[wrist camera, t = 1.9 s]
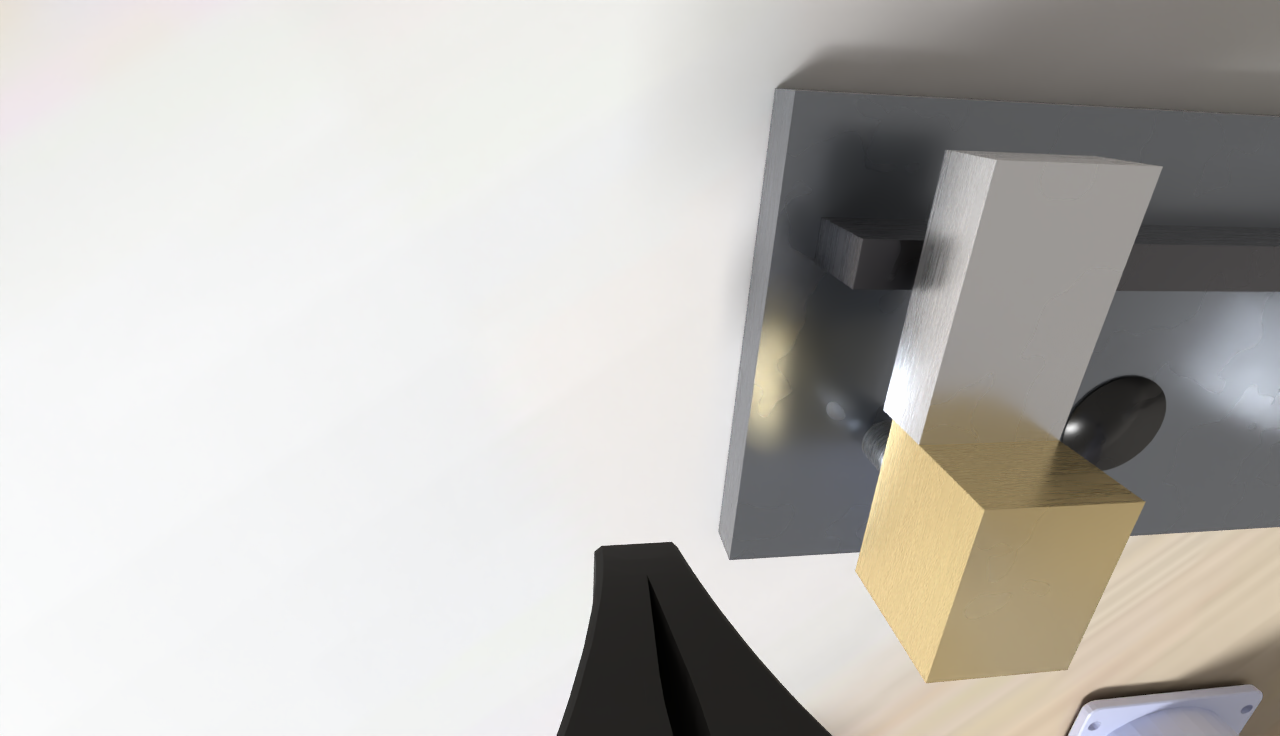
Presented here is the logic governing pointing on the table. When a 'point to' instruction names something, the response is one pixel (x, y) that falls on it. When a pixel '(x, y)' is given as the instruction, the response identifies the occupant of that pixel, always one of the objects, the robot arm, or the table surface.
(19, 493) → the table surface
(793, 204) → the plate
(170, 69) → the table surface
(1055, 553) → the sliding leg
